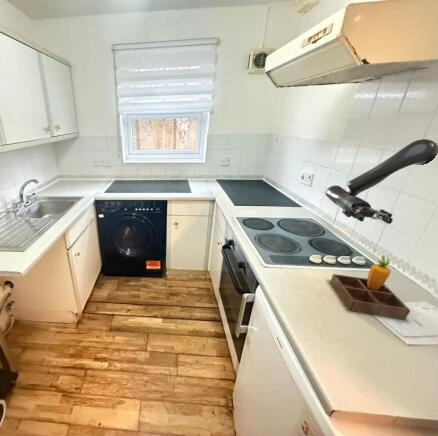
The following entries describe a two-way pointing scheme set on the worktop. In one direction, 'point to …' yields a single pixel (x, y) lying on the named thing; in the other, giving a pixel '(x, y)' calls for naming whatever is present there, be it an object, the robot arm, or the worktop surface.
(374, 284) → the carrot
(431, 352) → the worktop surface
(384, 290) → the grid
